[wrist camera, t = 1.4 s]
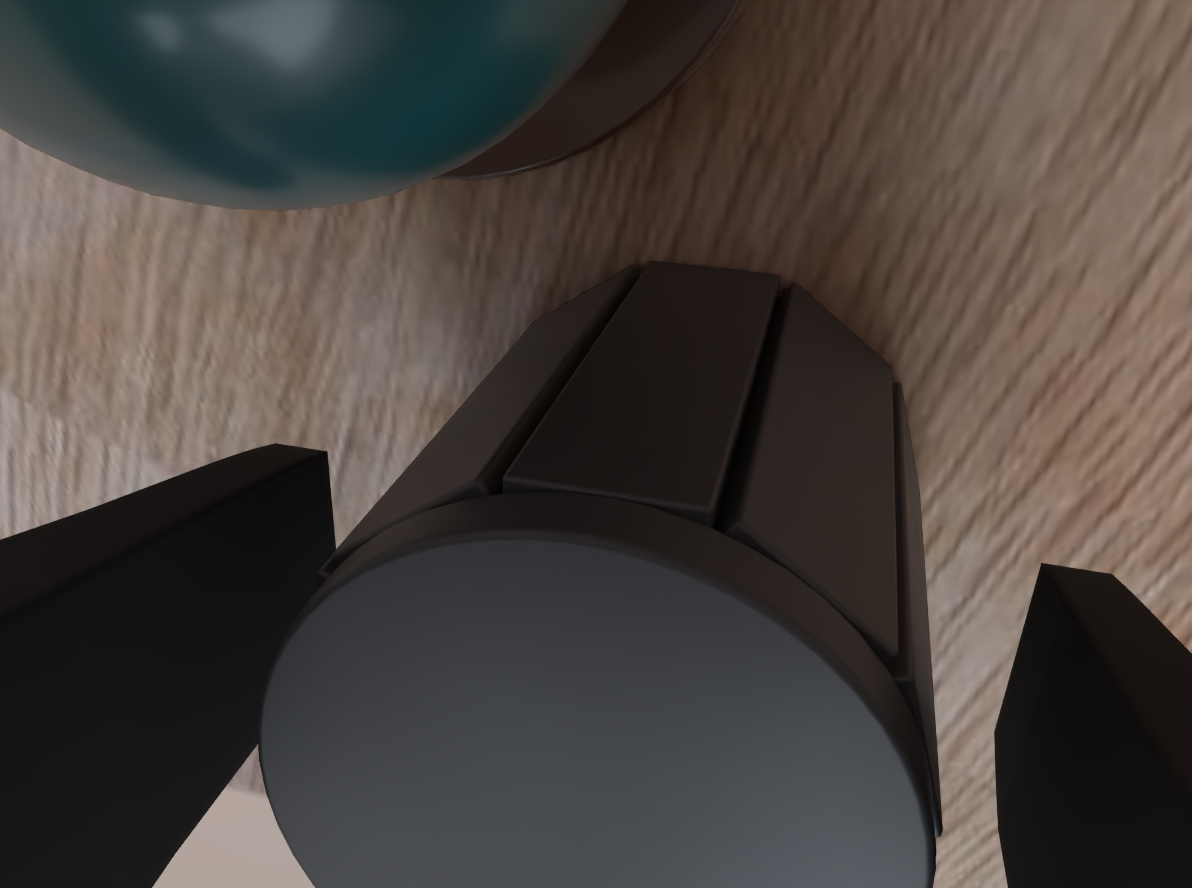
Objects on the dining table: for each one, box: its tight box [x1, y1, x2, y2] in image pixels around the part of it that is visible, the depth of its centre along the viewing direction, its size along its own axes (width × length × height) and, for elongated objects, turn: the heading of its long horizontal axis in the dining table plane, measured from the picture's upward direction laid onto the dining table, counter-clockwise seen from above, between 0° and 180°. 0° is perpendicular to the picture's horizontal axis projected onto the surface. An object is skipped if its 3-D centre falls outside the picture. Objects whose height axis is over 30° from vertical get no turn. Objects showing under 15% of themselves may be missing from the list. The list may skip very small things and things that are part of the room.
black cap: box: [257, 261, 943, 888], centre depth 10 cm, size 5×5×6 cm
